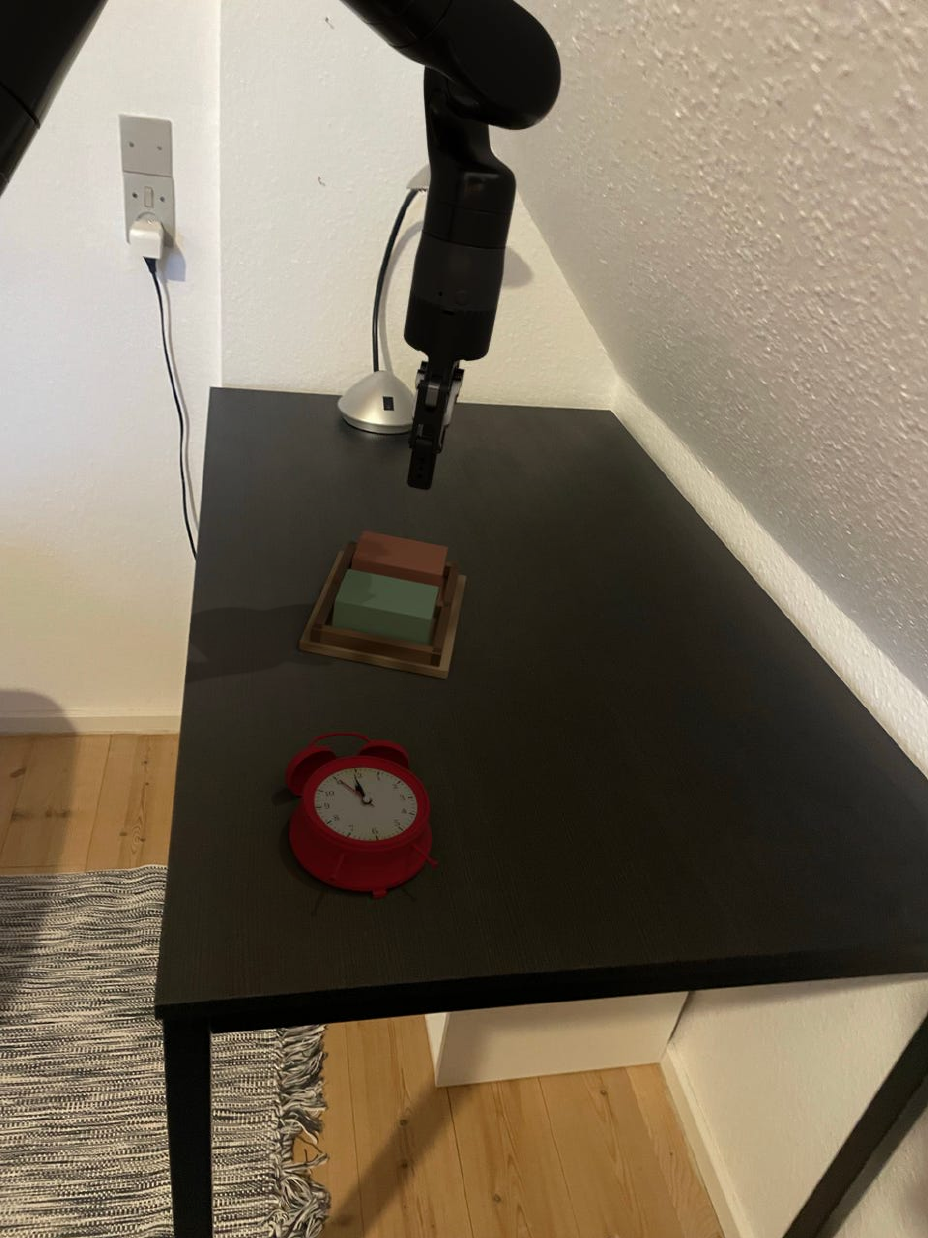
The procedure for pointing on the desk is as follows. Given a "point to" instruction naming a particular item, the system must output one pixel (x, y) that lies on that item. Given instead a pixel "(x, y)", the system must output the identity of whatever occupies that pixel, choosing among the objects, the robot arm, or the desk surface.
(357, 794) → the alarm clock
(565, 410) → the desk surface
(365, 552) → the pad terracotta
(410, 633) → the pad sage
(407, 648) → the divided wooden tray
